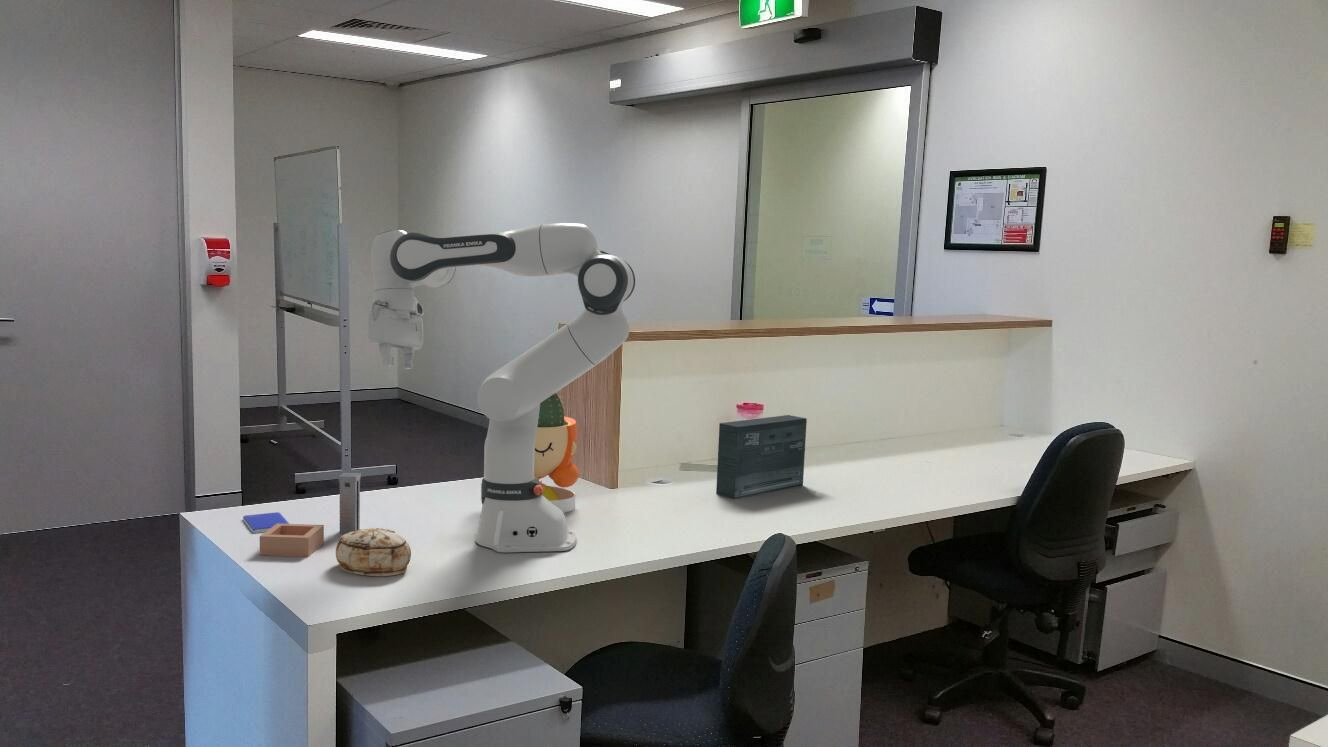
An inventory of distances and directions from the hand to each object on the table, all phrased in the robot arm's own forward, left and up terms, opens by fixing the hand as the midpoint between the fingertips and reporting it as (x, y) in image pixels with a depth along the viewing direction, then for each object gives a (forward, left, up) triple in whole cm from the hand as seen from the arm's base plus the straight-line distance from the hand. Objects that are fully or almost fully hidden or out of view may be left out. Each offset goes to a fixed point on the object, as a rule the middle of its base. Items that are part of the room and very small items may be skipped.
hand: (398, 367), depth 218 cm
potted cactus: (-28, -35, -38) cm, 59 cm away
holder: (+19, +11, -38) cm, 44 cm away
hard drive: (+31, -7, -39) cm, 51 cm away
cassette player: (-89, -59, -39) cm, 113 cm away
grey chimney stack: (+11, -3, -38) cm, 40 cm away
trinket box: (-1, +22, -39) cm, 44 cm away
